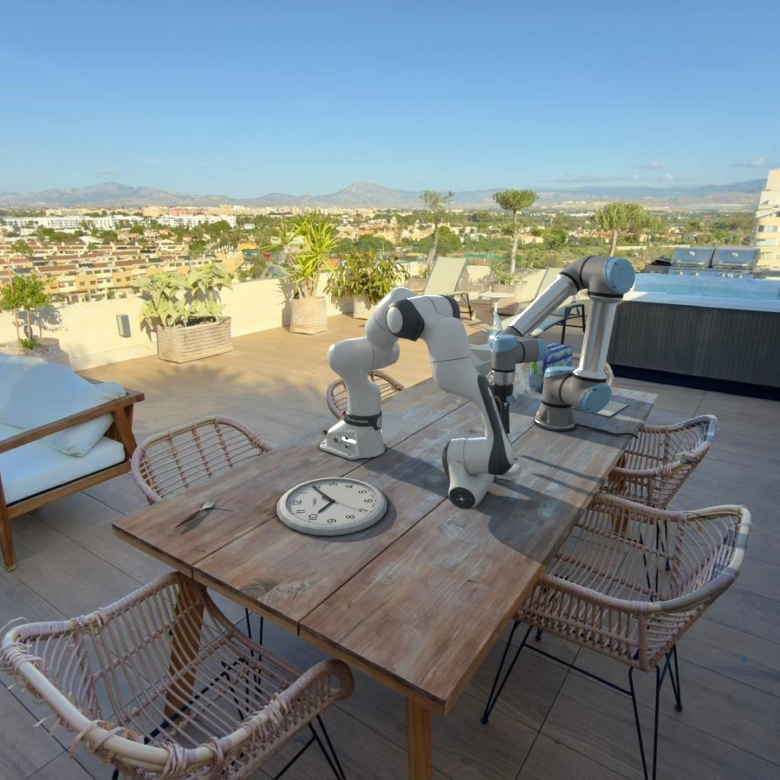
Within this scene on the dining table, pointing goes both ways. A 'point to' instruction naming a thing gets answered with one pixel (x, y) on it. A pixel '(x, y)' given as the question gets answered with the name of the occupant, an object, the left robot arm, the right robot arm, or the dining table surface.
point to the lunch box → (549, 364)
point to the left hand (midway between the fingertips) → (491, 456)
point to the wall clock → (331, 506)
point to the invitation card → (611, 408)
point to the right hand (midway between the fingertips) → (496, 442)
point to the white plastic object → (484, 360)
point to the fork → (206, 505)
